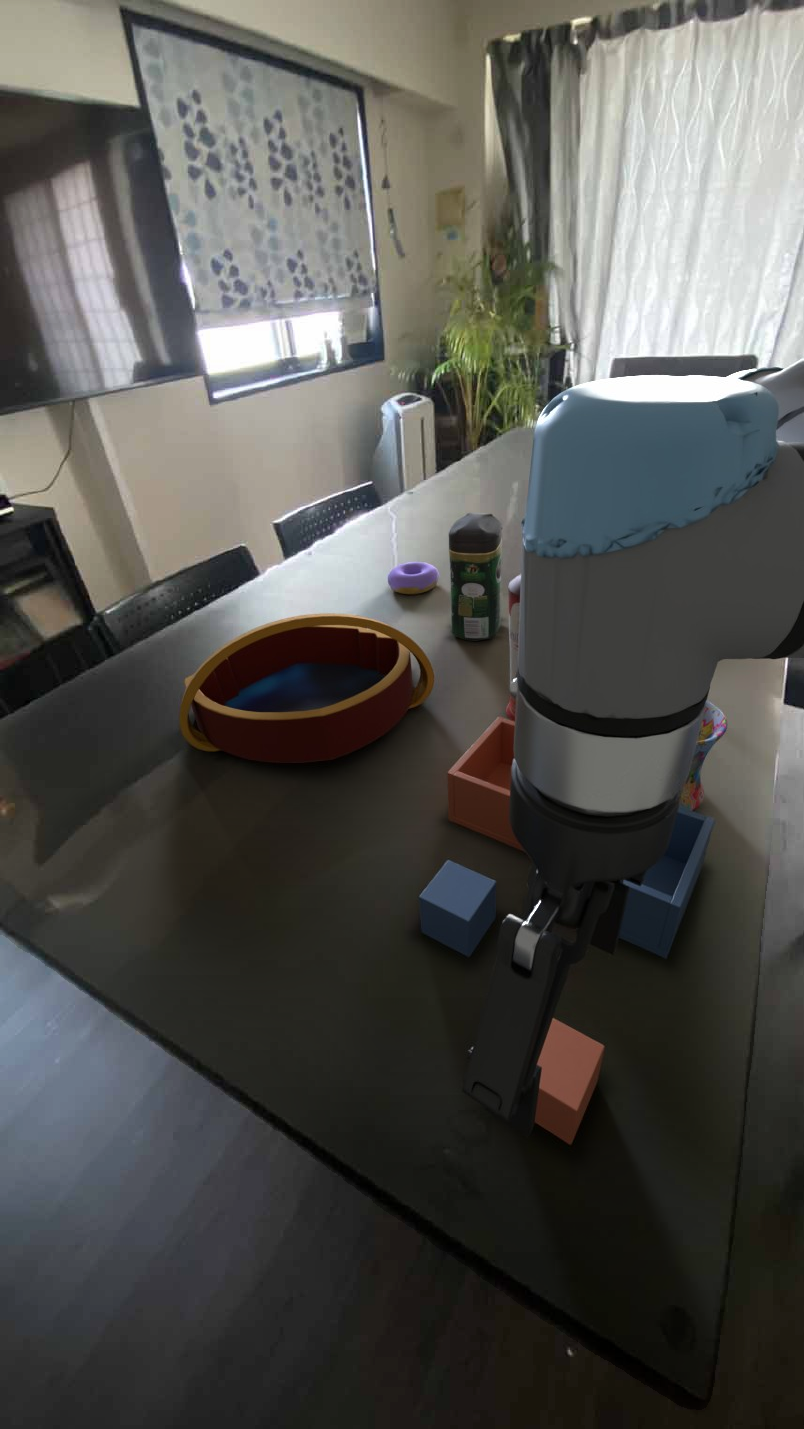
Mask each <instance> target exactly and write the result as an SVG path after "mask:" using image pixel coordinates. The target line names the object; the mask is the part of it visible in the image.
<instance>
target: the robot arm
mask: <svg viewBox="0 0 804 1429" xmlns="http://www.w3.org/2000/svg"><path fill="white" fill-rule="evenodd" d="M532 439H533V440H532V448H531V459H530V466H529V467H530V468H529V479H528V486H527V497H526V506H525V515H524V517H523V518H522V520H521V522H520V523H521V533H522V537H521V538H522V539H521V541H522V542H521V564H520V574H521V587H520V613H519V640H518V668H517V678H515V679H514V680H513V682H512V683H511V685H510V684H509V686H508V692H509V693H508V694H509V696H510V695H511V696H512V697H514V698H516V713H515V731H514V749H513V750H514V759H513V762H512V768H511V786H510V804H509V819H510V824H511V828H512V831H513V833H514V835H515V837H516V839H517V840H518V842H519V843H520V845H521V846H522V847H523V849H524V850H525V851H526V852H525V851H524V852H525V853H526V854H527V856H528V857H529V858H530V860H531V865H530V867H529V871H528V874H527V877H526V885H527V892H526V894H525V898H524V900H523V904H522V907H521V909H520V913H519V915H518V916H517V915H514V914H512V913H508V914H507V915H506V916H505V918H504V919H503V920H502V922H501V923H500V927H499V935H498V942H497V951H496V959H495V964H494V967H493V971H492V975H491V978H490V982H489V986H488V990H487V994H486V998H485V1001H484V1004H483V1009H482V1013H481V1016H480V1021H479V1023H478V1027H477V1031H476V1035H475V1039H474V1043H473V1046H472V1047H470V1048H469V1049H468V1050H467V1053H466V1059H467V1060H468V1061H469V1062H468V1065H467V1069H466V1073H465V1076H464V1077H463V1081H462V1083H463V1084H462V1088H461V1092H462V1093H463V1094H465V1096H467V1097H469V1098H471V1099H472V1100H473V1101H474V1102H477V1103H478V1104H480V1105H481V1106H483V1107H484V1108H485V1110H486V1111H487V1112H489V1113H490V1114H492V1115H493V1116H495V1117H497V1118H498V1119H499V1120H501V1121H502V1122H504V1123H505V1124H507V1125H509V1126H510V1127H511V1128H513V1129H514V1130H516V1131H518V1132H519V1133H520V1134H522V1135H524V1136H525V1137H527V1138H530V1136H531V1133H532V1132H533V1129H534V1126H535V1124H536V1123H535V1115H536V1108H537V1101H538V1093H539V1086H540V1078H541V1071H542V1067H541V1066H539V1065H537V1063H538V1060H539V1057H540V1054H541V1051H542V1048H543V1045H544V1042H545V1040H546V1037H547V1034H548V1031H549V1028H550V1025H551V1022H552V1019H553V1018H554V1016H555V1013H556V1011H557V1007H558V1005H559V1001H560V998H561V996H562V993H563V989H564V987H565V983H566V981H567V978H568V975H569V972H570V969H571V966H574V965H575V966H576V965H577V964H579V963H580V962H581V961H582V960H583V959H584V958H585V957H586V956H587V953H588V951H589V947H590V946H591V947H593V948H596V949H598V950H600V951H602V952H605V953H606V954H609V955H611V956H612V957H613V956H614V954H615V952H616V950H617V946H618V942H619V939H620V938H619V934H620V929H621V924H622V920H623V915H624V911H625V906H626V902H627V897H628V893H629V888H630V886H628V885H625V884H623V880H626V881H629V882H631V883H634V884H636V885H638V886H641V885H642V883H643V880H644V877H645V874H646V871H647V870H648V869H650V868H651V867H652V866H654V865H655V864H656V863H657V862H658V861H659V860H660V859H661V858H662V856H663V855H664V853H665V852H666V850H667V848H668V845H669V842H670V839H671V835H672V831H673V827H674V823H675V819H676V815H677V812H678V808H679V804H680V800H681V795H682V787H683V786H684V785H685V783H686V780H687V777H688V775H689V771H690V767H691V763H692V759H693V756H694V752H695V748H696V744H697V740H698V736H699V732H700V729H701V725H702V721H703V717H704V713H705V709H706V700H707V701H708V697H709V693H710V690H711V689H710V688H711V684H712V681H713V678H714V675H715V672H716V670H717V666H718V663H719V662H720V661H724V660H750V659H751V660H759V659H760V660H778V659H804V357H803V358H800V359H799V360H798V361H796V362H793V364H791V365H789V366H787V367H785V368H783V367H780V366H773V367H764V366H763V367H760V368H752V369H747V370H741V371H738V372H734V373H731V374H730V375H728V376H726V377H723V376H722V377H721V376H711V375H709V376H708V375H685V376H676V375H664V374H661V375H659V374H655V375H654V374H651V375H635V376H622V377H621V376H619V377H613V378H605V379H599V380H593V381H588V382H584V383H581V384H577V385H574V386H572V387H569V388H568V389H566V390H564V391H562V392H559V393H558V394H557V395H556V396H554V397H553V398H552V399H551V401H549V403H548V404H547V405H546V406H545V407H544V408H543V410H542V411H541V413H540V415H539V416H538V419H537V422H536V425H535V428H534V432H533V438H532ZM556 924H557V925H559V926H562V927H563V928H566V929H569V930H576V934H575V940H574V941H571V940H570V939H567V938H565V937H563V936H561V935H559V934H557V933H555V932H553V931H554V928H555V926H556Z"/></svg>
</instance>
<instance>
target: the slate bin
mask: <svg viewBox="0 0 804 1429" xmlns="http://www.w3.org/2000/svg"><path fill="white" fill-rule="evenodd" d="M715 822H716V818H713V817H711V816H709V815H705V814H702V813H699V812H696V811H694V810H692V811H690V810H687V809H684V808H681V807H679V808H678V812H677V815H676V819H675V823H674V827H673V831H672V835H671V839H670V842H669V845H668V848H667V850H666V852H665V853H664V855H663V856H662V858H661V859H660V860H659V861H658V862H657V863H656V864H655V865H654V866H652V867H651V868H650V869H648V870H647V871H646V874H645V877H644V880H643V883H642V885H641V886H638V885H636V884H634V883H631V882H629V881H626V880H623V884H625V885H628V886H630V888H629V893H628V897H627V902H626V906H625V911H624V915H623V920H622V924H621V929H620V934H619V938H618V939H622V940H623V941H626V942H628V943H630V944H632V945H635V946H636V947H639V948H641V949H643V950H646V951H648V952H650V953H652V954H654V955H657V956H659V957H661V958H663V959H668V955H669V952H670V950H671V948H672V945H673V942H674V940H675V937H676V935H677V932H678V929H679V927H680V925H681V922H682V919H683V917H684V914H685V911H686V909H687V906H688V904H689V901H690V899H691V897H692V893H693V891H694V888H695V885H696V883H697V880H698V878H699V875H700V873H701V870H702V868H703V863H704V860H705V857H706V853H707V849H708V846H709V843H710V839H711V836H712V832H713V829H714V826H715Z"/></svg>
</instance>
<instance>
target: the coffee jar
mask: <svg viewBox="0 0 804 1429" xmlns="http://www.w3.org/2000/svg"><path fill="white" fill-rule="evenodd" d="M502 526H503V525H502V522H501V521H500V519H499V518H498V517H496V516H495V515H494V514H493V513H489V512H467V513H465V515H463V516H461V517H460V518H459V519H457V520H456V521H455V522H454V523H453V524H452V526H451V527H450V529H449V531H448V556H449V574H450V575H449V578H450V579H449V580H450V619H451V620H450V622H451V623H450V624H451V626H450V628H451V633H452V635H453V636H454V637H456V638H459V639H462V640H465V641H471V642H479V641H483V640H489V639H492V638H494V637H495V635H496V634H497V632H498V631H499V629H500V626H501V622H502V545H503V544H502V542H503V527H502Z"/></svg>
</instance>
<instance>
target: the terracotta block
mask: <svg viewBox="0 0 804 1429" xmlns="http://www.w3.org/2000/svg"><path fill="white" fill-rule="evenodd" d="M604 1053H605V1045H603V1044H602V1043H600V1042H598V1041H597V1040H595V1039H592V1038H591V1037H589V1036H587V1035H586V1034H584V1033H582V1032H580V1031H578V1030H576V1029H574V1028H572V1027H571V1026H570V1025H569V1026H568V1025H567V1024H565V1023H563V1022H562V1021H559V1020H558V1019H556V1018H554V1017H553V1019H552V1022H551V1025H550V1028H549V1031H548V1034H547V1037H546V1040H545V1042H544V1045H543V1048H542V1051H541V1054H540V1057H539V1060H538V1063H537V1065H539V1066H541V1067H542V1071H541V1078H540V1086H539V1093H538V1101H537V1108H536V1115H535V1123H534V1124H537V1125H539V1126H540V1127H542V1128H543V1129H544V1130H546V1131H547V1132H550V1133H551V1134H553V1135H554V1136H555V1137H557V1138H559V1139H560V1140H562V1141H563V1142H564V1143H566V1144H568V1145H570V1146H572V1144H573V1141H574V1139H575V1137H576V1135H577V1132H578V1130H579V1127H580V1125H581V1122H582V1121H583V1117H584V1115H585V1113H586V1111H587V1107H588V1105H589V1103H590V1101H591V1098H592V1096H593V1093H594V1091H595V1089H596V1086H597V1084H598V1080H599V1075H600V1072H601V1066H602V1061H603V1056H604Z"/></svg>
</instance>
